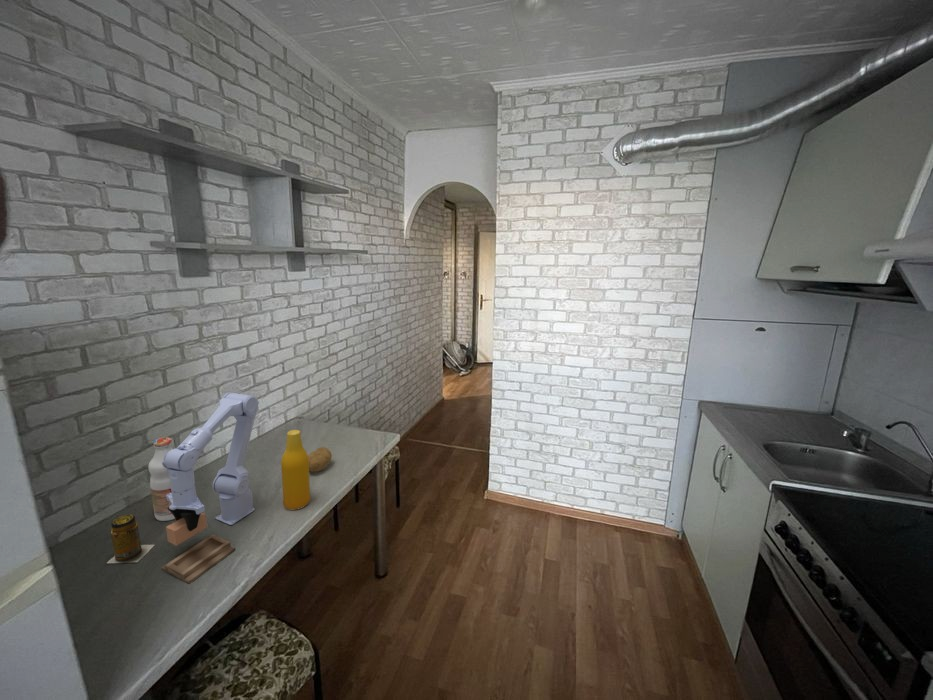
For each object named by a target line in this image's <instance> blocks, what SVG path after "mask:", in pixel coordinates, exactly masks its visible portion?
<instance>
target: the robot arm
mask: <svg viewBox="0 0 933 700" xmlns="http://www.w3.org/2000/svg"><path fill="white" fill-rule="evenodd" d="M259 403H260V402H259V400H258V399H257V396H255V395H252V394H245V393H243V394H242V393H235V392H232V391H229V392H226V393H225V394H224V395H223V396H222V398H221V399H219V403H218V407H217V408H216V410H215V411H214V412H213V413H212V414H211V416H210V417H209V418H208V419H207V420H206V422H205V423H204V425H202V426H201V427H197V428H194V429H193V430H192V431H191V432H190V433H189V435H188V436H187V437H186V438H185V439H184V440H183V441H182V442H181V443H180V444H179V445H178V446H177V447H175V448H173V449H172V450H171V451H169V452H167V454H166V455H165V457H164V460H163V462H162V465H163V467H165V468H166V469H167V472H168V473H169V476H170V484H171V492H172V493H170V494H168V495H166V498H167V501H170V502H171V504H172V505H170V506H169V507H168V508H167V509H168V510H169V511H170V512H171V513H172V514H173V516H174V517H175V519H174V520H175V522H176V521H177V520H179V519H181V518H184V519H185V521H186V524H187V528H188V530H189V531H192V530H194V529H195V528H197V525H198V521H199V517H200V514H201V513H202V512H204V513H205V511H206V510H205V504H203V503H202V502H201V500H200V499H199V497H198V495H197V490H196V481H195V480H196V479H195V473H194V467H195V466H196V465H197V462H198V460H199V457H200V455H201V453H202V451H203V450H204V449H205V448H206V447H207V445H208V444H210V442H211V441H212V440H213V433H214V432H216V431H217V429H218V428H220V426H222V425H223V424H224V423H225V422H226V421H227V420H228V419H229V418H230V417H233V418H234V419H235V421H236V423H235V426H234V430H233V434H232V439H231V443H230V447H229V451H228V455H227V460H226V463H225V466H223V467H222V468H220V469H219V470H217V474H216V476H215V478H214V479H213V481H212V485H211V486H212V487H211V488H212V490H213V492H215V493H216V495H217V496H218V498H219V506H220V507H219V508H220V514H219V515H217V516H216V517H215V518H214V519H215V520H217V521H220V522H222V523H224V524H226V525H229V526H233V525H234V524H236V523H238V521H240V520H242V519H243V518H245V517H247V516H248V515H249V514H251V513H252V512H254V511H255V510H256V509H255V508H254V501H253V499H254V498H253V493H252V491H251V488H249V483H250V482H249V475H250V473H249V471H248V470H247V469H246V468H245V466H244V465H245V460H246V457H247V452H248V447H249V443H250V440H251V436H252V432H253V431H252V430H253V428H254V427H253V426H254V423H255V419H256V417H257V416H256V415H257V412H258V407H259Z"/></svg>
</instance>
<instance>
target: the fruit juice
mask: <svg viewBox="0 0 933 700" xmlns="http://www.w3.org/2000/svg"><path fill="white" fill-rule="evenodd" d="M172 444H173V440H172V438H171V437H160V438H157V439H155V440H153V443H152V445H153V448H154V455H153V457H152V458H151V460H149V463H148V467H147V468H148V469H147V470H148V472H149V474H150V477H149V478H150V479H149V486H150V492H151V499H152V500H151V501H152V506H153V514H154V517H155V519H156V520H157V521H159V522H168V521H172V520H176V519H175V517H174V516H173V514H172V513H171V512H170V511H169V510H168V509H167V508H168V507H169V506H170V505H172V504H171V502H170V501H167V498H166V495H168V494H170V493H172V492H171V484H170V476H169V473H168V472H167V469H166V468H165V467H163V465H162V462H163V460H164V457H165V455H166V454H167V452H169V451H171V450H172V449H173V450H174V448H173V446H172Z"/></svg>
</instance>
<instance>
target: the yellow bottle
mask: <svg viewBox="0 0 933 700" xmlns="http://www.w3.org/2000/svg"><path fill="white" fill-rule="evenodd" d="M308 455H309V454H308V453H307V451H306V450H305V448H304V446H303V441H302V436H301V430H298V429H291V430H289V431H288V432H287V434H286V446H285V450H284V452H283V454H282V457H281V461H280V462H281V463H280V465H281V466H280V467H281V479H282V480H281V482H282V502H283V507H284V509H286V508H287V509H286V510H288V509H298V508H301V507H303V506H305V505H306V504H308V505H309V503H310V500H311V493H310V492H311V491H310V471H309V460H308ZM308 502H309V503H308ZM305 507H306V506H305ZM301 509H302V508H301ZM298 510H299V509H298Z"/></svg>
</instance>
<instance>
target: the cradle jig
mask: <svg viewBox="0 0 933 700" xmlns="http://www.w3.org/2000/svg"><path fill="white" fill-rule="evenodd" d="M235 551H236V548H235V547H234V546H231V542H230V541H228V540H226V539H225V538H222V537H220V536H217V535H216V534H211V535H209V536H207V537H206V538H204V539H202V540H201V541H199V542H198V543H197V544H196V543H195V545H193V546H192V547H190V548H188V549H187V550H185V551H183V553H181V554H179V555H178V556H176V557H175V558H172V560H170V561H168V562H167V563H165V564H164V565H162V566H160V568H161V571H163V572H165V573H167V574H169V575H171V576H172V577H174V578H177V579H179V580H181V581H182V582H184V583H186V584H188V585H190V584H191V583H193V582H194V581H195V580H197V579H198V578H199V577H201V576H202V575H204V574H206V572H208V571H209V570H210V569H212V568H213V567H215V566H216V565H217V564H219V563H220V562H221V561H223V560H224V559H225V558H227V557H228V556H230V555H231V554H232V553H234V552H235Z"/></svg>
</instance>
